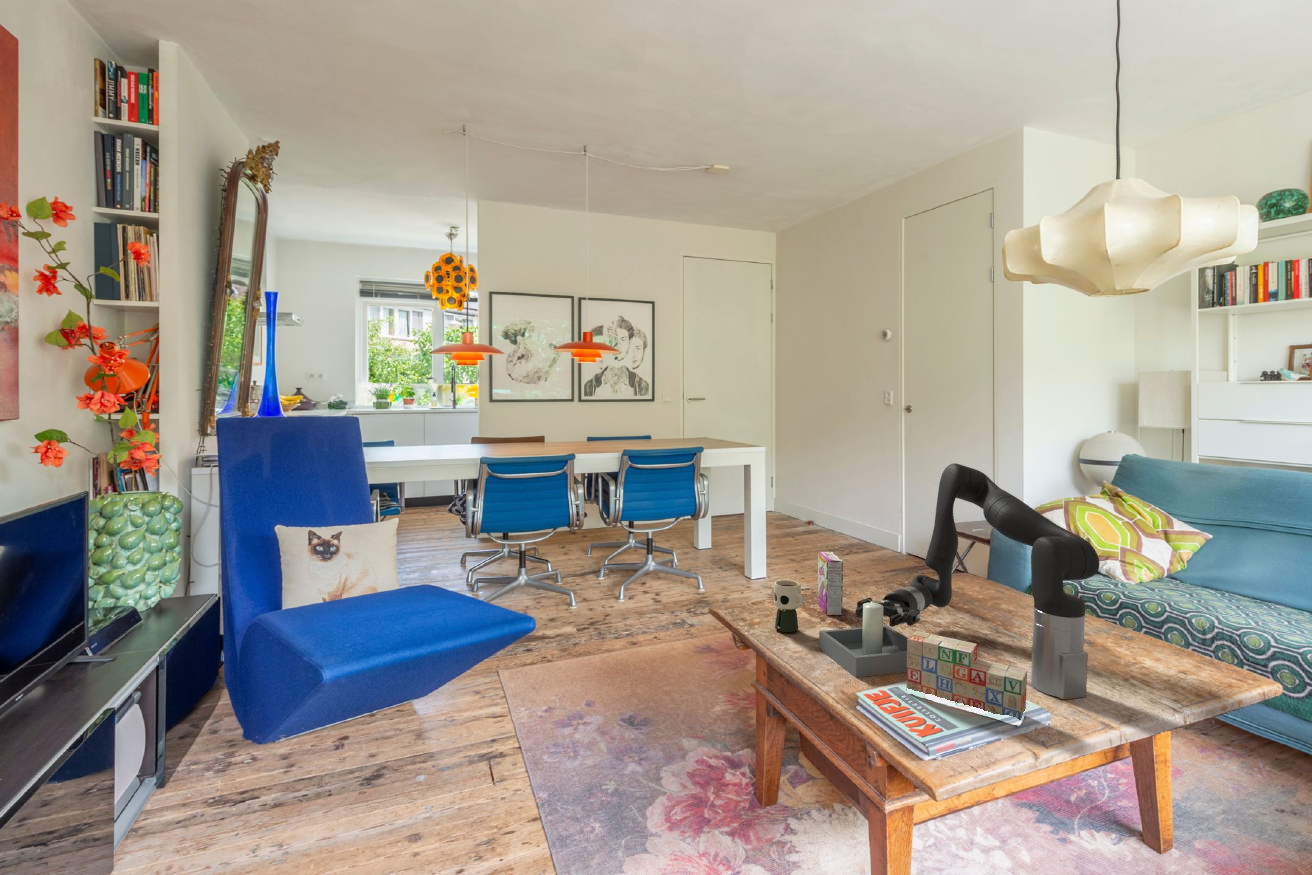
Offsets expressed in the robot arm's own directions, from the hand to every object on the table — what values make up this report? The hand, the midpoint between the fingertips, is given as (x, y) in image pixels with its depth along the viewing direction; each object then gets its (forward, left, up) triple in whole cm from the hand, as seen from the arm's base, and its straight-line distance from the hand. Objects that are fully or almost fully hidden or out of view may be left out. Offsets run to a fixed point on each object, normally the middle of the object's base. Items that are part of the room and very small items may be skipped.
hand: (874, 617), depth 149 cm
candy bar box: (+35, -8, -10) cm, 37 cm away
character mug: (+22, +12, -10) cm, 27 cm away
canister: (0, 0, -9) cm, 9 cm away
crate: (0, 0, -10) cm, 10 cm away
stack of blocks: (-25, -5, -10) cm, 27 cm away
